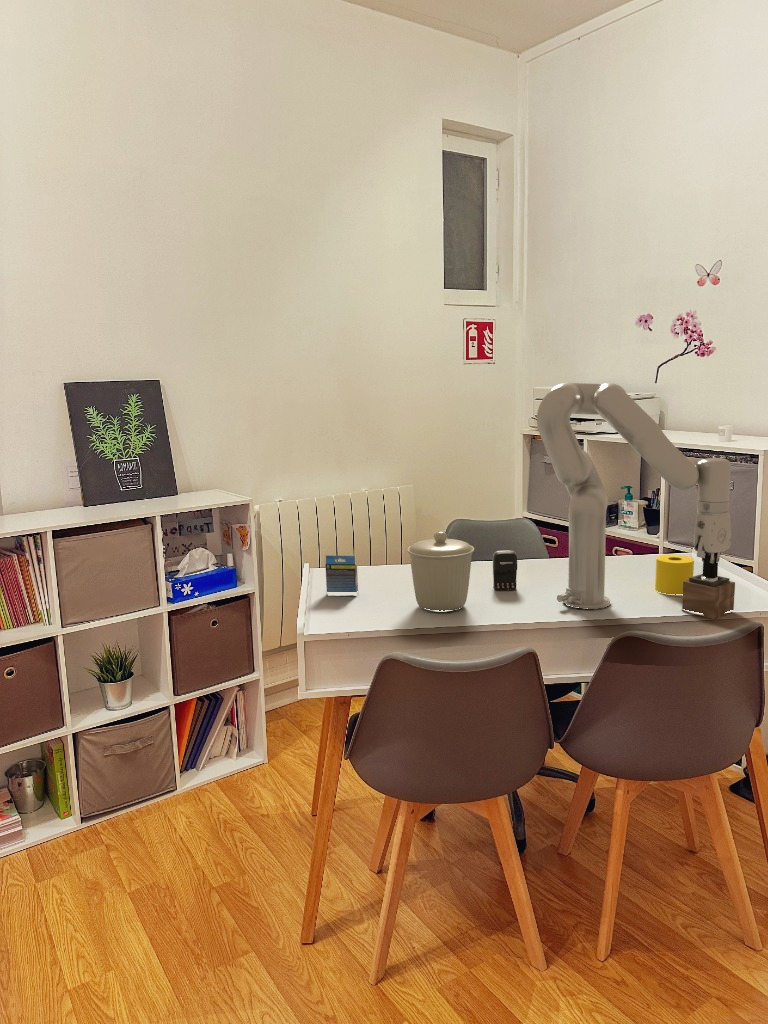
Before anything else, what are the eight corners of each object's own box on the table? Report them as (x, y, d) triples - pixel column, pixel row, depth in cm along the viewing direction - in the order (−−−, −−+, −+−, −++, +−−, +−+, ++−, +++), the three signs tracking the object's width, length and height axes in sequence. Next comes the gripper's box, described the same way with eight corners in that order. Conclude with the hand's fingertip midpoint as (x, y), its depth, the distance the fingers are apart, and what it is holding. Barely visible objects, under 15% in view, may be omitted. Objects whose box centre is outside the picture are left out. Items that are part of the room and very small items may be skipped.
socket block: (713, 619, 201) (715, 584, 200) (682, 611, 208) (683, 577, 207) (733, 612, 206) (735, 578, 205) (702, 604, 214) (703, 571, 212)
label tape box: (358, 593, 233) (357, 552, 231) (356, 597, 229) (355, 555, 227) (329, 592, 234) (327, 552, 232) (326, 596, 230) (324, 555, 228)
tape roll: (696, 596, 221) (697, 563, 219) (658, 595, 223) (659, 562, 221) (688, 586, 231) (689, 554, 229) (652, 585, 232) (653, 554, 231)
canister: (483, 601, 221) (483, 527, 218) (460, 620, 205) (460, 541, 202) (424, 595, 229) (422, 523, 225) (397, 613, 213) (395, 536, 210)
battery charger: (494, 592, 231) (494, 553, 229) (492, 588, 234) (492, 550, 232) (518, 591, 231) (518, 552, 228) (516, 587, 234) (516, 549, 232)
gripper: (709, 512, 195) (706, 585, 198) (743, 505, 204) (739, 574, 207) (682, 509, 201) (679, 579, 204) (716, 501, 210) (713, 569, 213)
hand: (709, 576), depth 206 cm, fingers closed
